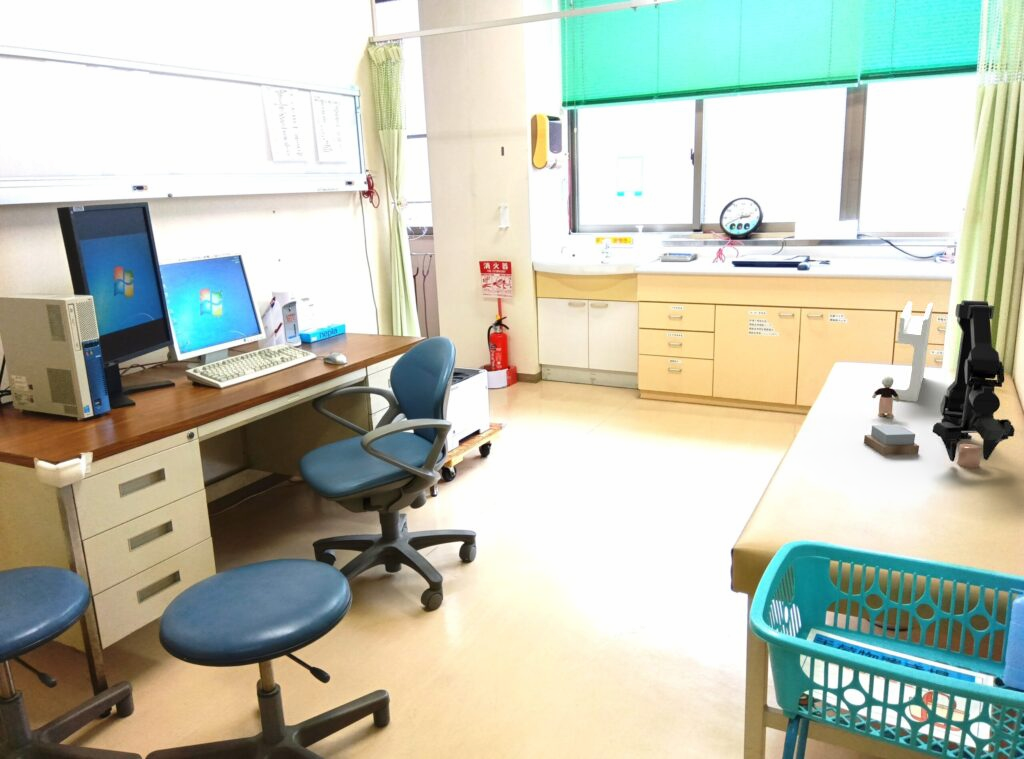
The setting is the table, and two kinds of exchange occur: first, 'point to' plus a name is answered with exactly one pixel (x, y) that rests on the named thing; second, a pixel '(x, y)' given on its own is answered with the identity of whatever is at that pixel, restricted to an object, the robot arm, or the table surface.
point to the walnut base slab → (890, 447)
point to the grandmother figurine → (886, 397)
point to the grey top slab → (893, 435)
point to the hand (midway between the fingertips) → (968, 460)
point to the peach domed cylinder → (969, 456)
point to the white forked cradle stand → (916, 335)
